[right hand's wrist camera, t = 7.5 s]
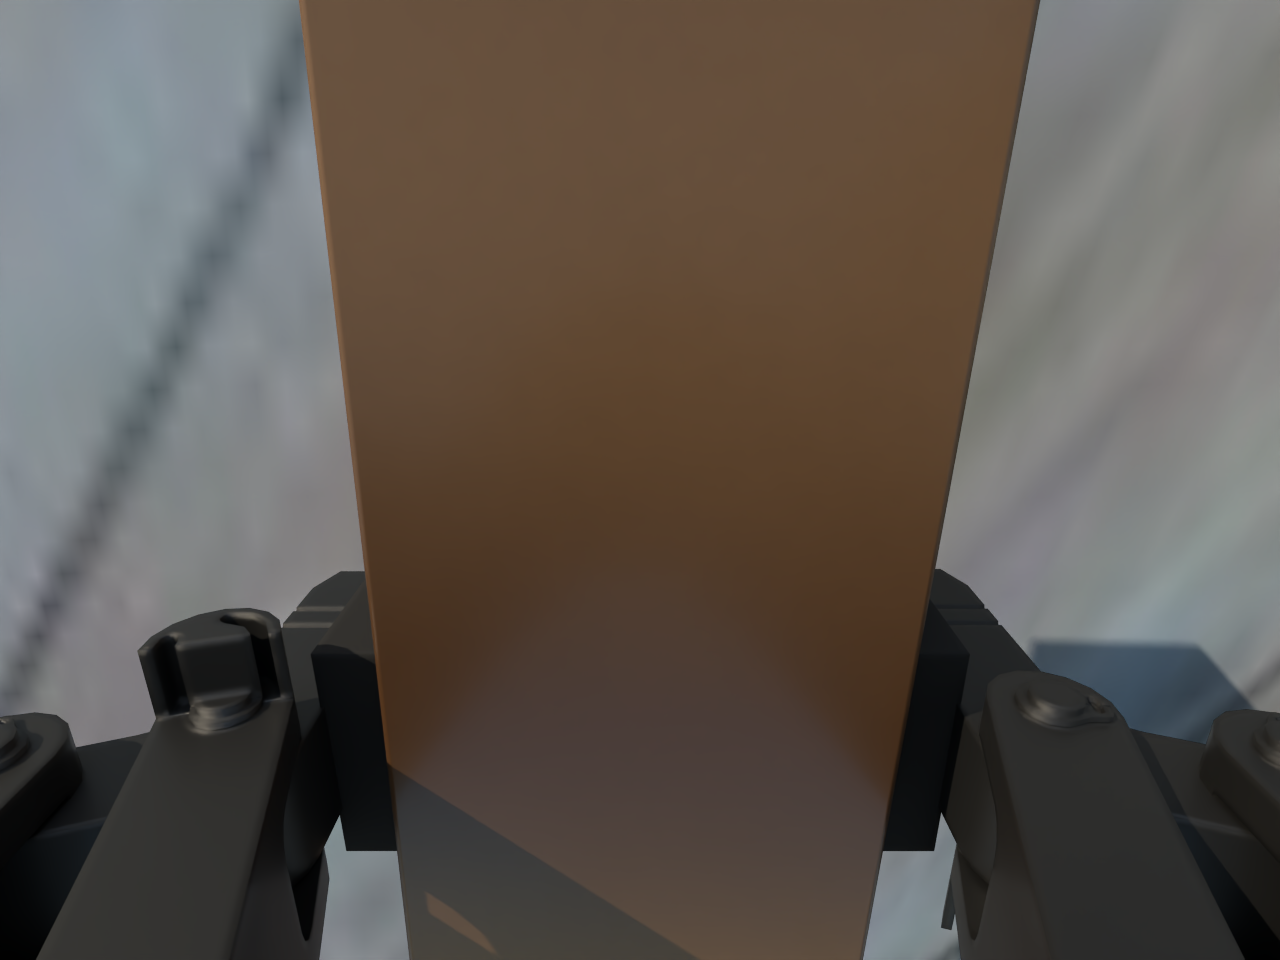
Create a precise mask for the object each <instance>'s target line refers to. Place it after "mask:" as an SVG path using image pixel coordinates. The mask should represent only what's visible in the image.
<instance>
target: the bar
mask: <svg viewBox="0 0 1280 960" xmlns="http://www.w3.org/2000/svg"><path fill="white" fill-rule="evenodd" d="M1039 4H1040V0H299V5H300V14H301V22H302V31H303V40H304V48H305V57H306V66H307V74H308V83H309V92H310V100H311V109H312V118H313V126H314V135H315V144H316V152H317V161H318V170H319V178H320V187H321V196H322V204H323V213H324V222H325V230H326V239H327V248H328V256H329V265H330V274H331V282H332V291H333V300H334V308H335V317H336V326H337V334H338V343H339V352H340V360H341V369H342V378H343V386H344V395H345V404H346V412H347V421H348V430H349V438H350V447H351V455H352V464H353V473H354V481H355V490H356V499H357V507H358V516H359V525H360V533H361V542H362V551H363V559H364V568H365V577H366V585H367V594H368V603H369V611H370V620H371V629H372V637H373V646H374V655H375V663H376V672H377V681H378V689H379V698H380V707H381V715H382V724H383V733H384V741H385V750H386V759H387V767H388V776H389V785H390V793H391V802H392V811H393V819H394V828H395V837H396V845H397V854H398V862H399V871H400V880H401V888H402V897H403V906H404V914H405V923H406V932H407V940H408V949H409V958H410V960H863V955H864V950H865V945H866V939H867V934H868V928H869V923H870V918H871V912H872V907H873V901H874V896H875V891H876V885H877V880H878V874H879V869H880V864H881V858H882V853H883V847H884V842H885V836H886V831H887V826H888V820H889V815H890V809H891V804H892V799H893V793H894V788H895V782H896V777H897V772H898V766H899V761H900V755H901V750H902V745H903V739H904V734H905V728H906V723H907V718H908V712H909V707H910V701H911V696H912V690H913V685H914V680H915V674H916V669H917V663H918V658H919V653H920V647H921V642H922V636H923V631H924V626H925V620H926V615H927V609H928V604H929V599H930V593H931V588H932V582H933V577H934V572H935V566H936V561H937V555H938V550H939V544H940V539H941V534H942V528H943V523H944V517H945V512H946V507H947V501H948V496H949V490H950V485H951V480H952V474H953V469H954V463H955V458H956V453H957V447H958V442H959V436H960V431H961V426H962V420H963V415H964V409H965V404H966V398H967V393H968V388H969V382H970V377H971V371H972V366H973V361H974V355H975V350H976V344H977V339H978V334H979V328H980V323H981V317H982V312H983V307H984V301H985V296H986V290H987V285H988V280H989V274H990V269H991V263H992V258H993V252H994V247H995V242H996V236H997V231H998V225H999V220H1000V215H1001V209H1002V204H1003V198H1004V193H1005V188H1006V182H1007V177H1008V171H1009V166H1010V161H1011V155H1012V150H1013V144H1014V139H1015V134H1016V128H1017V123H1018V117H1019V112H1020V106H1021V101H1022V96H1023V90H1024V85H1025V79H1026V74H1027V69H1028V63H1029V58H1030V52H1031V47H1032V42H1033V36H1034V31H1035V25H1036V20H1037V15H1038V9H1039Z"/></svg>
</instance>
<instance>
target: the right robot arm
mask: <svg viewBox="0 0 1280 960" xmlns="http://www.w3.org/2000/svg"><path fill="white" fill-rule="evenodd" d="M138 655H139V658H140V662H141V666H142V669H143V673H144V676H145V680H146V684H147V687H148V691H149V694H150V698H151V702H152V705H153V709H154V712H155V716H156V720H155V722H154V724H153V726H152V728H151V730H150V732H148V733H144V734H140V735H136V736H131V737H126V738H121V739H116V740H111V741H106V742H101V743H96V744H91V745H86V746H81V747H76V746H75V743H74V740H73V737H72V734H71V731H70V728H69V725H68V723H67V722H65V721H64V720H62V719H61V718H60V717H58V716H57V715H52V714H43V713H28V714H20V715H12V716H4V717H0V960H319V957H320V949H321V941H322V933H323V925H324V917H325V910H326V902H327V894H328V886H329V873H328V866H327V860H326V855H325V850H324V846H325V844H326V842H327V840H328V838H329V836H330V834H331V832H332V830H333V828H334V825H335V823H336V821H337V819H338V817H339V815H340V818H341V824H342V829H343V835H344V840H345V846H346V851H397V845H396V837H395V828H394V819H393V811H392V802H391V793H390V785H389V776H388V767H387V759H386V750H385V741H384V733H383V724H382V715H381V707H380V698H379V689H378V681H377V672H376V663H375V655H374V646H373V637H372V629H371V620H370V611H369V603H368V594H367V585H366V577H365V571H341V572H339V573H337V574H336V575H334V576H332V577H331V578H329V579H327V580H326V581H324V582H322V583H321V584H319V585H317V586H316V587H314V588H313V589H312V590H311V591H310V592H309V593H308V595H307V596H306V597H305V598H304V599H303V601H302V602H301V603H300V604H299V605H298V607H297V611H293V612H292V614H291V615H290V616H289V617H288V618H287V620H286V621H285V622H284V623H283V628H281V626H280V620H279V619H278V618H276V617H275V616H273V615H272V614H271V613H269V612H267V611H262V610H257V609H252V608H240V609H223V610H218V611H214V612H209V613H204V614H199V615H196V616H194V617H191V618H188V619H185V620H183V621H180V622H177V623H175V624H172V625H171V626H169V627H167V628H165V629H164V630H162V631H160V632H159V633H157V634H155V635H153V636H152V637H151V638H150V639H149V640H148V641H147V642H146V643H145V644H144V645H143V646H142V647H141V648H140V649H139V650H138ZM941 812H942V814H943V817H944V819H945V821H946V823H947V825H948V827H949V829H950V831H951V833H952V835H953V837H954V839H955V841H956V843H957V845H956V850H955V855H954V860H953V865H952V870H951V875H950V880H949V885H948V890H947V895H946V901H945V906H944V911H943V918H942V925H941V928H944V929H949V930H952V925H953V920H954V915H955V916H956V923H957V931H958V939H959V947H960V955H961V960H1280V713H1276V712H1265V711H1257V710H1249V709H1244V710H1236V711H1227V712H1224V713H1223V714H1222V715H1220V716H1219V717H1218V718H1216V719H1215V720H1214V721H1213V724H1212V728H1211V731H1210V734H1209V737H1208V740H1207V743H1206V744H1201V743H1196V742H1191V741H1186V740H1181V739H1176V738H1171V737H1166V736H1161V735H1156V734H1151V733H1146V732H1142V731H1138V730H1134V729H1130V728H1129V727H1128V725H1127V723H1126V721H1125V719H1124V717H1123V716H1122V715H1121V714H1120V712H1119V711H1118V710H1117V709H1116V708H1115V706H1114V705H1113V704H1112V703H1111V702H1110V701H1109V700H1107V699H1106V698H1104V697H1103V696H1101V695H1100V694H1098V693H1097V692H1096V691H1094V690H1093V689H1091V688H1089V687H1087V686H1084V685H1082V684H1080V683H1077V682H1075V681H1073V680H1071V679H1068V678H1066V677H1062V676H1057V675H1053V674H1049V673H1045V672H1041V671H1040V670H1039V669H1038V668H1037V666H1036V665H1035V664H1034V663H1033V662H1032V660H1031V659H1030V658H1029V657H1028V656H1027V655H1026V653H1025V652H1024V651H1023V650H1022V649H1021V648H1020V646H1019V645H1018V644H1017V643H1016V642H1015V640H1014V639H1013V638H1012V637H1011V636H1010V635H1009V633H1008V632H1007V631H1006V630H1005V629H1004V628H1003V626H1002V625H998V620H997V619H996V618H995V617H994V616H993V615H992V613H991V612H990V611H989V610H988V609H985V608H984V604H983V603H982V602H981V600H980V599H979V598H978V597H977V596H976V595H975V593H974V592H973V591H972V590H971V589H970V588H969V586H968V585H966V584H964V583H963V582H961V581H959V580H958V579H956V578H954V577H953V576H951V575H949V574H948V573H946V572H944V571H943V570H941V569H935V572H934V577H933V582H932V588H931V593H930V599H929V604H928V609H927V615H926V620H925V626H924V631H923V636H922V642H921V647H920V653H919V658H918V663H917V669H916V674H915V680H914V685H913V690H912V696H911V701H910V707H909V712H908V718H907V723H906V728H905V734H904V739H903V745H902V750H901V755H900V761H899V766H898V772H897V777H896V782H895V788H894V793H893V799H892V804H891V809H890V815H889V820H888V826H887V831H886V836H885V842H884V847H883V851H934V848H935V843H936V838H937V832H938V827H939V821H940V816H941Z"/></svg>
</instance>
